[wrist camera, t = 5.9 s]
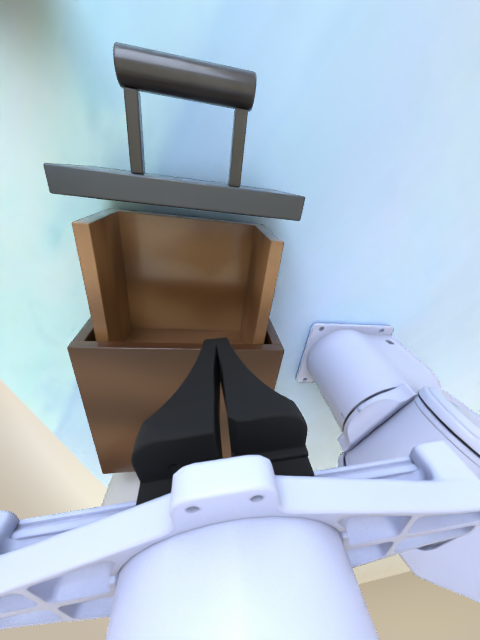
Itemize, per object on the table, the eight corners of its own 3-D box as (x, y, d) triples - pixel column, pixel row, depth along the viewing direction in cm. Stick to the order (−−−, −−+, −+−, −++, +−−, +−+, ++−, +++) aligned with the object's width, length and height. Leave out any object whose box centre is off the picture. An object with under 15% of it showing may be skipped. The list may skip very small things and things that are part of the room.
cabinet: (109, 292, 21) (66, 347, 14) (260, 299, 24) (284, 350, 17) (126, 401, 28) (102, 474, 21) (243, 398, 30) (255, 463, 23)
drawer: (80, 66, 14) (3, -1, 8) (289, 107, 16) (333, 74, 10) (118, 328, 22) (92, 376, 17) (251, 331, 24) (265, 376, 19)
